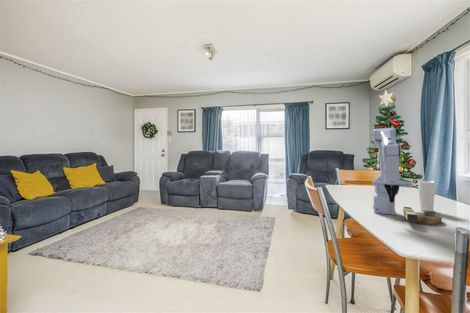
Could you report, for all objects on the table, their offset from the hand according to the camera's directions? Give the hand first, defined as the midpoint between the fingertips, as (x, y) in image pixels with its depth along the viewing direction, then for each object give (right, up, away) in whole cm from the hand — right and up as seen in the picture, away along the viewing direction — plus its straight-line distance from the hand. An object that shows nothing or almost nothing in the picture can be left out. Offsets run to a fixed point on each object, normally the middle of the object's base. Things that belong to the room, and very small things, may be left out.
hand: (391, 202), depth 104 cm
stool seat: (+15, -9, +1) cm, 17 cm away
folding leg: (+7, -7, -1) cm, 10 cm away
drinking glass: (+28, -8, +16) cm, 33 cm away
